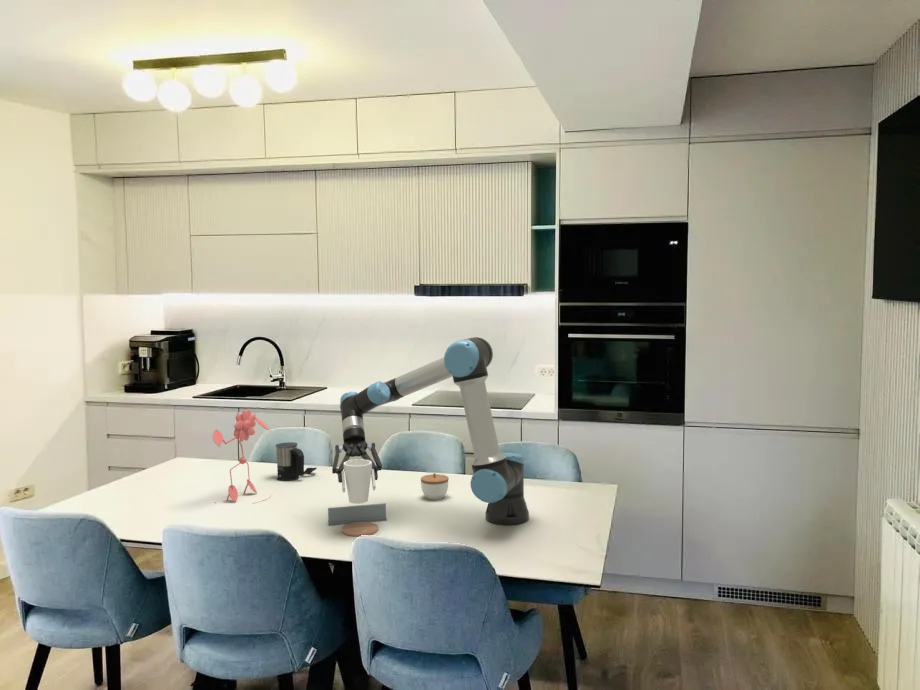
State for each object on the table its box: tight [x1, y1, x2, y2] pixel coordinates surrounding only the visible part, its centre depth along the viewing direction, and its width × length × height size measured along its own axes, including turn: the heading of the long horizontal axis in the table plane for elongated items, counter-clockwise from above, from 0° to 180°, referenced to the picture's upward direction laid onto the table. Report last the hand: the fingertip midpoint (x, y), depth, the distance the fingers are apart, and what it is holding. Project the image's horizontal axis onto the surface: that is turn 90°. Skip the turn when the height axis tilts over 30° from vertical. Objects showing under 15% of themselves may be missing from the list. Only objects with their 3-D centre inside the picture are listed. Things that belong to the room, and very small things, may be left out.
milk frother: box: [275, 441, 317, 482], centre depth 323 cm, size 14×16×15 cm
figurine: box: [212, 408, 272, 505], centre depth 290 cm, size 15×26×35 cm, turn 153°
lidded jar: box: [420, 472, 449, 501], centre depth 290 cm, size 11×11×9 cm
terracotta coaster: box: [342, 522, 379, 537], centre depth 253 cm, size 12×12×1 cm
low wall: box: [327, 502, 388, 526], centre depth 263 cm, size 20×4×5 cm, turn 103°
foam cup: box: [343, 458, 373, 505], centre depth 252 cm, size 10×9×13 cm
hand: (359, 489), depth 249 cm, fingers closed on foam cup, 9 cm apart
